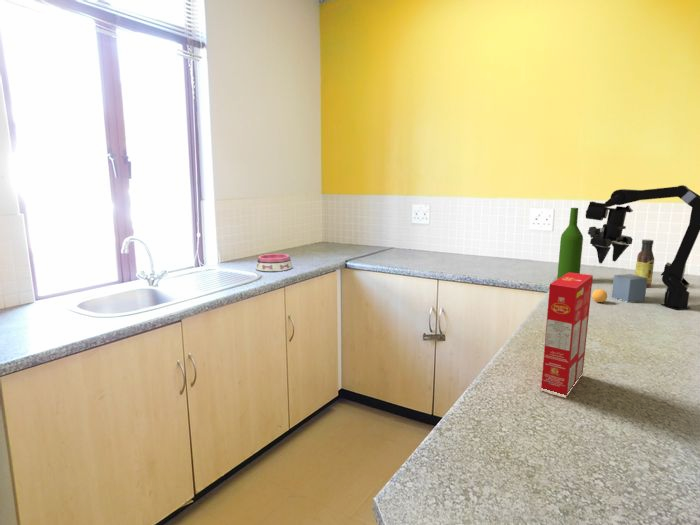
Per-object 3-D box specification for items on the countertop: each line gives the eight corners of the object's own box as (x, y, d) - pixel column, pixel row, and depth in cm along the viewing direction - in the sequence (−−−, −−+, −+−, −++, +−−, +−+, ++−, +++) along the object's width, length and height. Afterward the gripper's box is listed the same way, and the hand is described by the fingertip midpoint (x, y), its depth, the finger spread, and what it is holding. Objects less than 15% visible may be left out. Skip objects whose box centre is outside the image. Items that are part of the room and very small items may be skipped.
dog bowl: (254, 266, 240) (253, 253, 239) (289, 264, 246) (288, 251, 245) (258, 274, 223) (257, 260, 222) (295, 271, 229) (295, 258, 227)
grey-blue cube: (644, 300, 173) (647, 278, 171) (627, 302, 171) (630, 279, 170) (628, 295, 181) (630, 273, 179) (611, 297, 179) (614, 275, 177)
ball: (609, 303, 170) (611, 290, 169) (598, 304, 169) (599, 291, 168) (599, 300, 175) (600, 287, 174) (588, 300, 174) (589, 288, 173)
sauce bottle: (650, 288, 191) (656, 241, 187) (632, 286, 195) (638, 240, 191) (651, 285, 196) (657, 239, 192) (634, 283, 200) (640, 238, 196)
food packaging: (559, 369, 114) (568, 272, 109) (582, 375, 111) (592, 275, 106) (540, 391, 103) (549, 284, 98) (565, 398, 100) (576, 288, 95)
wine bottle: (582, 283, 201) (590, 208, 194) (562, 283, 201) (568, 208, 194) (573, 278, 209) (580, 207, 203) (553, 278, 210) (559, 207, 203)
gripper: (608, 218, 185) (601, 255, 189) (580, 219, 176) (573, 259, 180) (637, 223, 176) (628, 262, 180) (609, 224, 167) (600, 266, 171)
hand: (607, 262), depth 178 cm, fingers open, 9 cm apart
